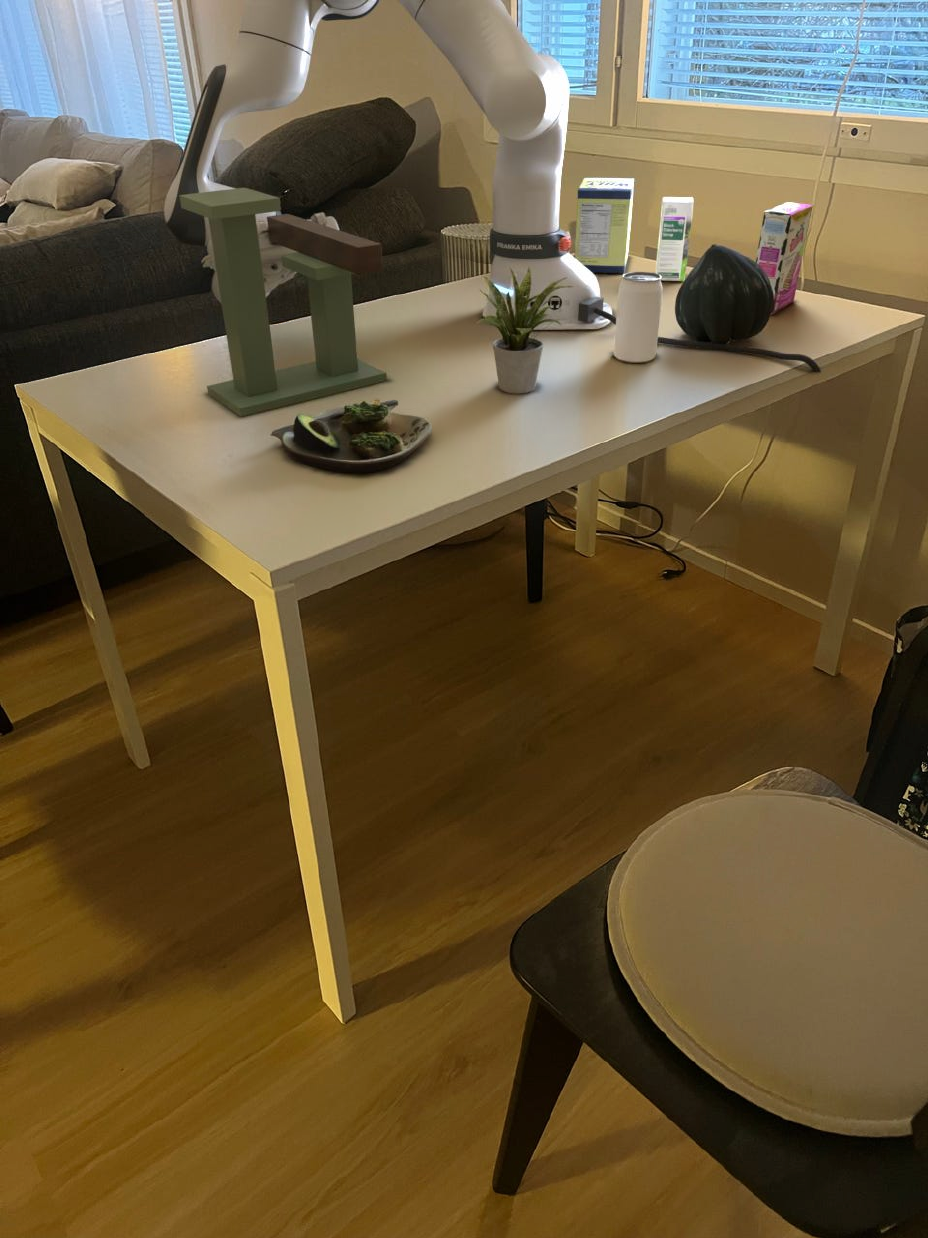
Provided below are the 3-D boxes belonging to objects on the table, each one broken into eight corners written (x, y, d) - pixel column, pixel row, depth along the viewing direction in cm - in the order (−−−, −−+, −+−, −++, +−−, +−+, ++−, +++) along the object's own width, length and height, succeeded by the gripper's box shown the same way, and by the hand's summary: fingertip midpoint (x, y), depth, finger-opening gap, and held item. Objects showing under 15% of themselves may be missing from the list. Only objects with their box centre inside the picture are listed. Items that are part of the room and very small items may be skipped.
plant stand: (208, 393, 131) (173, 194, 116) (348, 361, 142) (333, 176, 127) (241, 416, 123) (208, 207, 109) (386, 380, 134) (375, 186, 120)
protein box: (628, 256, 197) (635, 176, 188) (625, 274, 184) (632, 189, 176) (579, 255, 199) (583, 176, 190) (572, 272, 186) (577, 188, 178)
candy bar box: (773, 315, 159) (791, 214, 150) (746, 311, 162) (762, 210, 153) (796, 301, 167) (814, 203, 158) (769, 297, 169) (785, 200, 160)
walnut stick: (269, 241, 135) (266, 216, 133) (290, 238, 136) (287, 213, 135) (360, 275, 117) (358, 247, 115) (383, 271, 119) (381, 243, 117)
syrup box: (654, 281, 180) (663, 200, 172) (654, 273, 185) (662, 195, 177) (684, 281, 179) (694, 201, 171) (683, 274, 184) (693, 195, 176)
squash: (802, 315, 140) (772, 225, 142) (716, 330, 136) (687, 237, 138) (753, 356, 154) (726, 273, 155) (674, 370, 150) (648, 285, 151)
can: (655, 364, 139) (663, 282, 132) (611, 362, 140) (618, 280, 133) (656, 351, 144) (664, 271, 137) (614, 349, 145) (621, 269, 138)
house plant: (583, 404, 126) (591, 280, 117) (484, 411, 124) (484, 286, 115) (557, 370, 137) (563, 255, 128) (466, 376, 136) (465, 260, 126)
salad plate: (346, 403, 127) (343, 370, 124) (460, 425, 120) (459, 391, 117) (256, 454, 113) (251, 419, 110) (379, 483, 106) (376, 445, 103)
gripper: (190, 247, 138) (216, 208, 126) (312, 229, 147) (346, 191, 135) (205, 289, 138) (231, 254, 126) (325, 268, 148) (360, 234, 136)
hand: (292, 222), depth 131 cm, fingers open, 8 cm apart
